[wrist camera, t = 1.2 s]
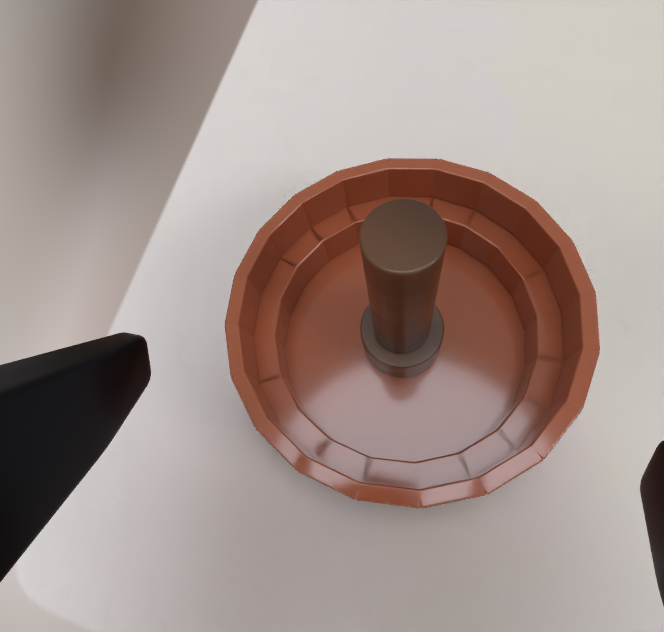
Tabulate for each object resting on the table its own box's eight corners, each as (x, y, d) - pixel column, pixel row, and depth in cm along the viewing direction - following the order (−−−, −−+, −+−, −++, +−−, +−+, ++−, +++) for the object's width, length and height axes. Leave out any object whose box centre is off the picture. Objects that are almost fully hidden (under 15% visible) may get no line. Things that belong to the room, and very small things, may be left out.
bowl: (423, 577, 19) (430, 606, 15) (204, 359, 24) (157, 329, 19) (618, 328, 22) (679, 285, 17) (385, 174, 26) (382, 107, 22)
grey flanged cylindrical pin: (406, 393, 21) (411, 322, 12) (348, 344, 22) (310, 243, 13) (456, 336, 22) (498, 224, 12) (396, 291, 23) (394, 157, 14)
